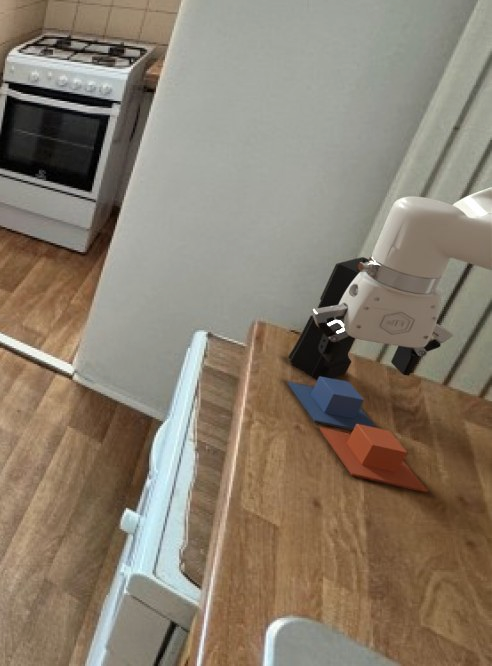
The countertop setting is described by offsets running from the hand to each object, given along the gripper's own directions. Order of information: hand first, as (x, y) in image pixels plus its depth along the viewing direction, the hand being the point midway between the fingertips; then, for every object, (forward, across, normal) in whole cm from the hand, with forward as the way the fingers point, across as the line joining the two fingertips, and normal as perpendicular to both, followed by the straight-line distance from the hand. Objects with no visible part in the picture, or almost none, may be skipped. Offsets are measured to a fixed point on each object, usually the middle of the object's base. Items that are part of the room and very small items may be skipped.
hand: (362, 363), depth 98 cm
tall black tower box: (+11, +2, +12) cm, 16 cm away
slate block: (+10, -1, 0) cm, 10 cm away
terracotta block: (+10, -1, -10) cm, 14 cm away
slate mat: (+10, -1, 0) cm, 10 cm away
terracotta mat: (+10, -1, -10) cm, 15 cm away
